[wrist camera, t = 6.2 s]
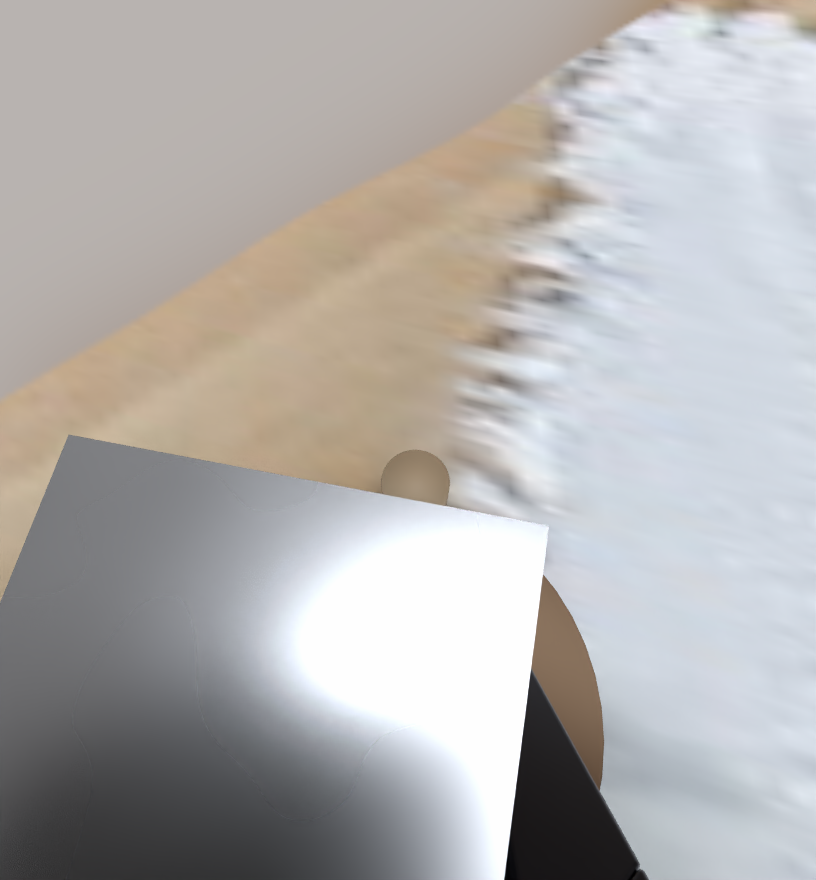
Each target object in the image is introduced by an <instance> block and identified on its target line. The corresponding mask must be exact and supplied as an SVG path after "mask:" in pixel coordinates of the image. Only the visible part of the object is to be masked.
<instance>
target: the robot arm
mask: <svg viewBox="0 0 816 880" xmlns="http://www.w3.org/2000/svg"><path fill="white" fill-rule="evenodd" d="M639 867H640V864H639V861H638V860H637V858H636V856H635V854H634V852H633V851H632V849H631V847H630V845H629V843H628V842H627V840H626V838H625V836H624V834H623V833H622V831H621V829H620V827H619V825H618V824H617V822H616V820H615V818H614V816H613V815H612V813H611V811H610V809H609V807H608V805H607V804H606V802H605V800H604V798H603V796H602V795H601V793H600V791H599V789H598V787H597V786H596V784H595V782H594V780H593V778H592V777H591V775H590V773H589V771H588V769H587V768H586V766H585V764H584V762H583V760H582V759H581V757H580V755H579V753H578V751H577V750H576V748H575V746H574V744H573V742H572V741H571V739H570V737H569V735H568V733H567V731H566V730H565V728H564V726H563V724H562V722H561V721H560V719H559V717H558V715H557V713H556V712H555V710H554V708H553V706H552V704H551V703H550V701H549V699H548V697H547V695H546V694H545V692H544V690H543V688H542V686H541V685H540V683H539V681H538V679H537V677H536V676H535V674H534V672H533V670H532V668H531V671H530V679H529V687H528V695H527V703H526V710H525V718H524V726H523V734H522V742H521V750H520V758H519V766H518V774H517V781H516V789H515V797H514V805H513V813H512V821H511V829H510V837H509V845H508V852H507V860H506V868H505V876H504V880H649V879H648V877H647V875H646V873H645V872H644V871H643V870H641V869H639Z"/></svg>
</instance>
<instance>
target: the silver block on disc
mask: <svg viewBox="0 0 816 880" xmlns="http://www.w3.org/2000/svg"><path fill="white" fill-rule="evenodd" d="M548 529H549V526H547V525H542V524H537V523H532V522H526V521H521V520H516V519H510V518H505V517H500V516H495V515H489V514H484V513H479V512H474V511H468V510H463V509H458V508H453V507H447V506H442V505H437V504H431V503H426V502H421V501H416V500H410V499H405V498H400V497H395V496H389V495H384V494H379V493H373V492H368V491H363V490H358V489H352V488H347V487H342V486H337V485H331V484H326V483H321V482H315V481H310V480H305V479H300V478H294V477H289V476H284V475H279V474H273V473H268V472H263V471H257V470H252V469H247V468H242V467H236V466H231V465H226V464H221V463H215V462H210V461H205V460H199V459H194V458H189V457H184V456H178V455H173V454H168V453H163V452H157V451H152V450H147V449H141V448H136V447H131V446H126V445H120V444H115V443H110V442H105V441H99V440H94V439H89V438H84V437H78V436H73V435H69V436H68V438H67V440H66V443H65V445H64V448H63V450H62V453H61V455H60V458H59V460H58V462H57V465H56V467H55V470H54V472H53V475H52V477H51V480H50V482H49V484H48V487H47V489H46V492H45V494H44V497H43V499H42V502H41V504H40V507H39V509H38V511H37V514H36V516H35V519H34V521H33V524H32V526H31V529H30V531H29V533H28V536H27V538H26V541H25V543H24V546H23V548H22V551H21V553H20V555H19V558H18V560H17V563H16V565H15V568H14V570H13V573H12V575H11V577H10V580H9V582H8V585H7V587H6V590H5V592H4V595H3V597H2V600H1V602H0V880H504V876H505V868H506V860H507V852H508V845H509V837H510V829H511V821H512V813H513V805H514V797H515V789H516V781H517V774H518V766H519V758H520V750H521V742H522V734H523V726H524V718H525V710H526V703H527V695H528V687H529V679H530V671H531V663H532V655H533V647H534V639H535V632H536V624H537V616H538V608H539V600H540V592H541V584H542V576H543V568H544V561H545V553H546V545H547V537H548Z"/></svg>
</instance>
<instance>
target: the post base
mask: <svg viewBox="0 0 816 880" xmlns="http://www.w3.org/2000/svg"><path fill="white" fill-rule="evenodd" d="M449 486H450V480H449V474H448V471H447V469H446V467H445V465H444V464H443V463H442V461H441V460H439V459H438V458H437V457H436V456H434V455H433V454H431V453H428V452H426V451H421V450H409V451H405V452H402V453H400V454H398V455H396V456H395V457H394V458H392V459H391V460H390V461H389V463H388V464H387V465H386V467H385V469H384V471H383V474H382V479H381V487H382V494H384V495H389V496H395V497H400V498H405V499H410V500H416V501H421V502H426V503H431V504H437V505H442V506H446V505H447V499H448V493H449ZM531 668H532V670H533V672H534V674H535V676H536V677H537V679H538V681H539V683H540V685H541V686H542V688H543V690H544V692H545V694H546V695H547V697H548V699H549V701H550V703H551V704H552V706H553V708H554V710H555V712H556V713H557V715H558V717H559V719H560V721H561V722H562V724H563V726H564V728H565V730H566V731H567V733H568V735H569V737H570V739H571V741H572V742H573V744H574V746H575V748H576V750H577V751H578V753H579V755H580V757H581V759H582V760H583V762H584V764H585V766H586V768H587V769H588V771H589V773H590V775H591V777H592V778H593V780H594V782H595V784H596V786H597V787H598V789H599V791H600V785H601V779H602V770H603V750H604V735H603V721H602V707H601V702H600V697H599V692H598V687H597V682H596V677H595V673H594V670H593V667H592V664H591V661H590V658H589V655H588V652H587V649H586V645H585V643H584V641H583V639H582V637H581V635H580V632H579V630H578V628H577V626H576V624H575V622H574V619H573V617H572V615H571V614H570V612H569V611H568V609H567V607H566V606H565V604H564V603H563V601H562V599H561V598H560V596H559V595H558V593H557V591H556V590H555V589H554V587H553V586H552V585H551V584H550V582H549V581H548V580H547V579H546V577H545V576H544V575H543V576H542V584H541V592H540V600H539V608H538V616H537V624H536V632H535V639H534V647H533V655H532V663H531Z"/></svg>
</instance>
